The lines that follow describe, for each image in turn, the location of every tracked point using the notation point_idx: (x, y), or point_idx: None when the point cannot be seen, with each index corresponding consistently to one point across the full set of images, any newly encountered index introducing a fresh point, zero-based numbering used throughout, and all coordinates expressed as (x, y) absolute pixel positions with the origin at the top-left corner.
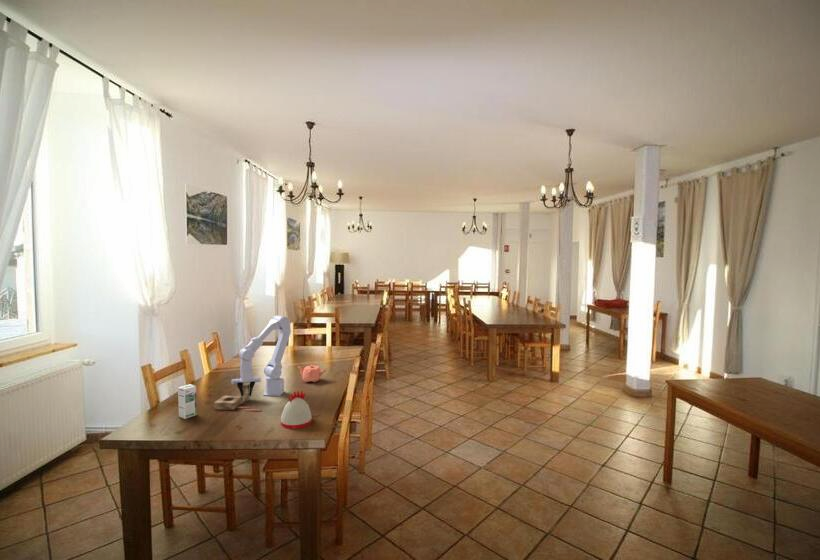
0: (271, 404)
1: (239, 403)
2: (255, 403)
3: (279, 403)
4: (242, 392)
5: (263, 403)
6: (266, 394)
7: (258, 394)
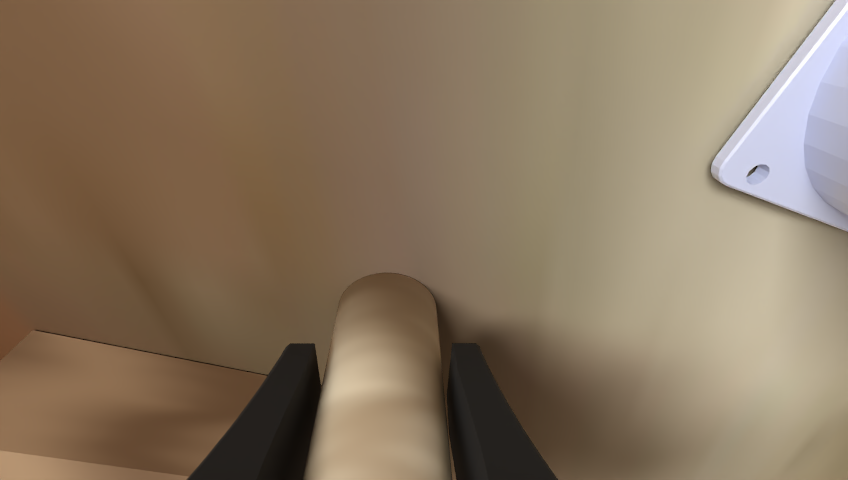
0: (688, 474)
1: None
2: None
3: (778, 466)
4: (298, 477)
5: (614, 444)
6: (784, 188)
7: (631, 45)
